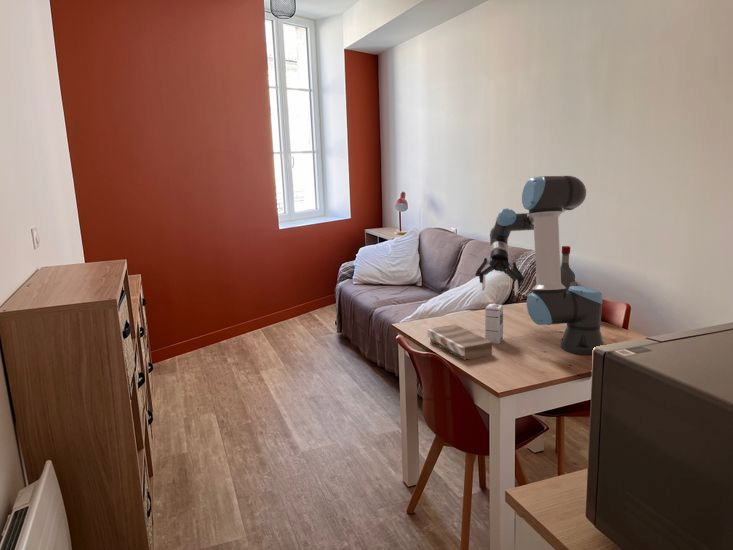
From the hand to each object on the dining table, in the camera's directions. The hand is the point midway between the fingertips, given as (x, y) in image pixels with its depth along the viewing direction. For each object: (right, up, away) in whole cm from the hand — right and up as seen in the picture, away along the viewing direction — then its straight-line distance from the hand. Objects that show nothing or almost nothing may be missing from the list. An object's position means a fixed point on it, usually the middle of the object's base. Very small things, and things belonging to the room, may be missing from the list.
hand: (500, 291), depth 219 cm
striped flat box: (-19, -21, -15) cm, 32 cm away
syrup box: (-5, -20, -8) cm, 22 cm away
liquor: (+37, -10, +31) cm, 50 cm away
